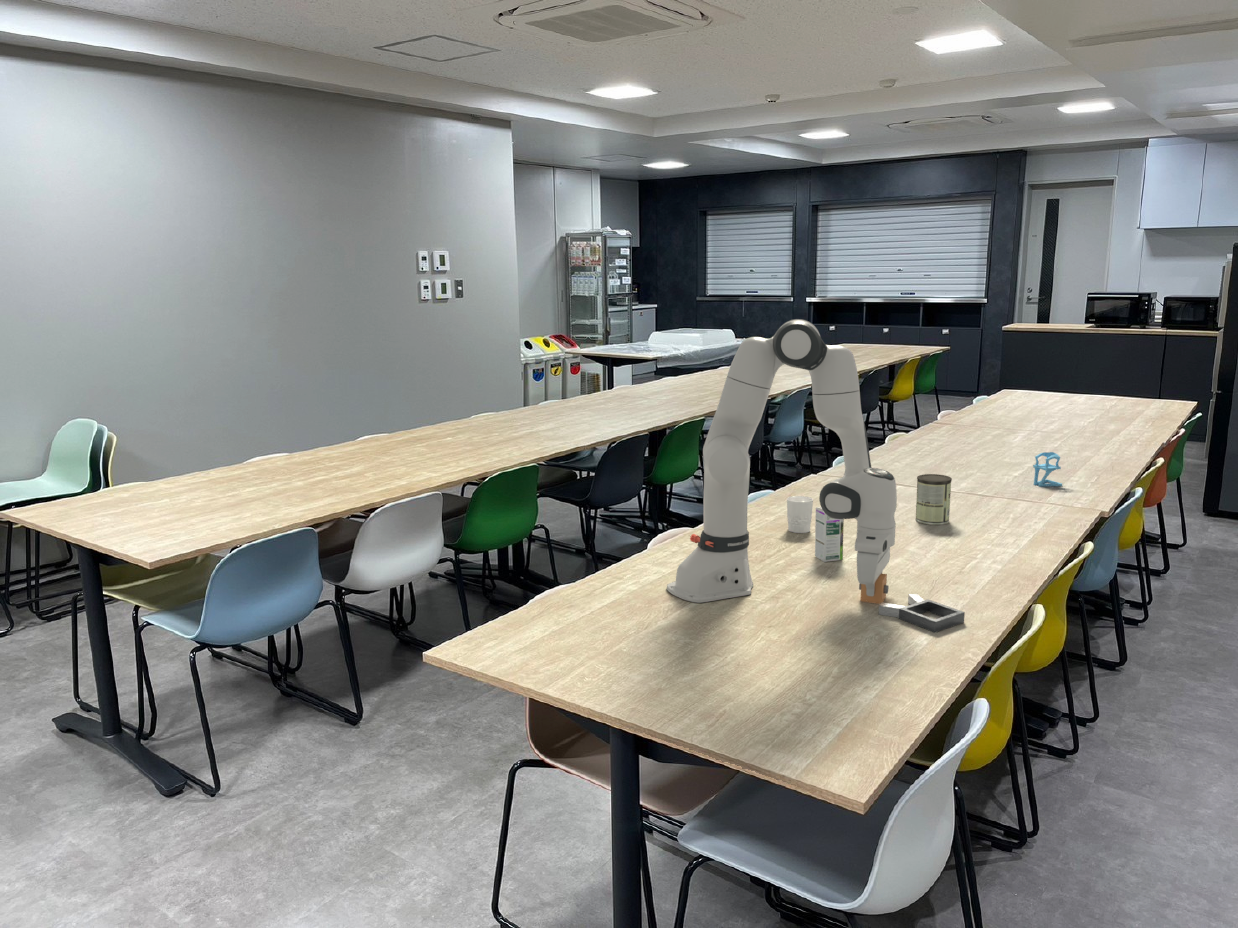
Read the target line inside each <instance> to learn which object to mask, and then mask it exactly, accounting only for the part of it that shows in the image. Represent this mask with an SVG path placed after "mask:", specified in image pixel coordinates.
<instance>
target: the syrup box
mask: <svg viewBox="0 0 1238 928" xmlns="http://www.w3.org/2000/svg"><path fill="white" fill-rule="evenodd" d="M844 520H845V519H834V518H831V517H829V516H828V515H827V514H825V512H824V511H823V510H822V508H821V506H819V507H818V506H816V507H815V526H814V527H815V529H814V530H815V534H814V535H815V536H814V539H815V540H814V544H815V545H814V556H815V558H817V559H819V560H821V561H822V562H823V563H827V562H835V561H843V560H844V557H843V556H844Z"/></svg>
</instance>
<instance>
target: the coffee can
mask: <svg viewBox="0 0 1238 928" xmlns="http://www.w3.org/2000/svg"><path fill="white" fill-rule="evenodd" d="M916 479H917V480H916V483H917V484H916V503H915V504H916V505H915V521H916V522H917V523H919V524H923V525H931V526H940V525H947V524H949V523H950V508H951V507H950V506H951V495H952V493H951V492H952V490H951V489H952V480H953V478H952V477H951V476H948V475H946V474H937V473H936V474H935V473H925V474H920V475H918V476H916Z"/></svg>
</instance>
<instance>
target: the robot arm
mask: <svg viewBox="0 0 1238 928" xmlns="http://www.w3.org/2000/svg"><path fill="white" fill-rule="evenodd" d="M784 365H786V366H787V367H791V368H796V369H800V370H801V369H802V370H805V371H807V372H808V373H809V375H810V379H811V391H812V392H811V393H812V405H813V410H814V411H813V412H814V414H815V418H816V419H817V422H819V423H820V424H821V425H823V426H824V427H825V428H827V429H829V430H831V431H833V432H834V433H836V435H837V436H838V437H839V439H840V442H841V448H842V456H843V463H844V469H845V470H844V473H843V476H842V477H839V478H836V479H834V480H832V481H830V482H828V483H826V484H825V485H824V486H823V487H822V488H821V489H820V491H819V499H818V500H819V504H820V507H821V508H822V510H823V511H824V512H825V514H827V515H828V516H829V517H831V518H834V519H844V520H851V519H852V520H853V519H855V520H856V522H857V525H856V537H855V538H856V539H855V542H854V551H855V552H857V553H856V575H857V576H856V577H857V582H858V583H859V584H865V585H866V594H867V596H874V594H875V582H876V580H877V579H878V577H879V576H880V574H881V573H882V574H883V573H884V572H883V571H884V570H885V569H886V567H887V566H888V564H889V563H890V557H891V548H892V547H893V546H895V544H896V519H895V513H896V510H897V506H898V505H897V504H898V503H897V501H898V500H897V499H898V496H897V494H898V493H897V483H896V479H895V476H894V474H892V473H890V472H889V471H887V470H886V469H883V468H878V467H872V463H871V456H870V450H869V443H868V435H867V429H866V424H865V420H864V416H863V412H862V404H861V403H862V402H861V392H860V381H859V374H858V369H857V364H856V360H855V356H854V354H853V352H852V351H851V349H850V348H848V347H846V346H844V345H840V344H839V345H838V344H832V345H830V344H826V343H825V342H824V340H823V339H822V337H821V334H820V332H819V330H818V328H817V327H816V326H815V325H814V324H813V323H812V322H810V321H808V320H806V319H801V318H800V319H799V318H795V319H790V320H788V321H786V322H784V323H783V324H782V325H781V326H780V327H779V328H777V330H776V332H775V333H774V334H773V335H772V336H771V337H770V338H769V337H768V338H765V337H761V336H751V337H747V338H745V339H743V341H742V342H741V343H740V345H739V346H738V349H737V350H736V352H735V354H734V357H733V360H732V361H731V363H730V366H729V370H728V372H727V374H726V379H725V382H724V385H723V388H722V391H721V395H720V398H719V401H718V405H717V409H716V410H715V413H714V415H713V418H712V422H711V423H710V424H711V425H710V426H709V430H708V432H707V435H706V438H705V441H704V444H703V448H702V456H703V466H704V467H703V472H704V473H703V527H702V528H703V529H702V531H701V534H700V536H699V535H697V534H695V533H693V534H691V535H690V538H689V540H690V542H691V543H695V544H697V547H696V548H695V549H694V550H693V551H691V553H690V554H689V555H688V556H687V557H686V558H685V559H684V560H683V561H682V562H681V563H679V565H678V566H677V570H676V576H675V581H672V582H670V583H667V584H666V590H667V591H668V593H670V594H671V595H673V596H675V597H677V598H680V599H682V600H685V601H687V602H691V603H698V604H699V603H707V602H708V603H709V602H713V601H719V600H724V599H729V598H730V599H732V598H736V597H737V598H738V597H743V596H748V595H751V594H752V588H753V586H754V582H753V579H752V575H751V569H750V562H749V552H748V547H749V545H750V532H749V531H748V505H749V504H748V503H749V488H750V471H751V470H750V468H751V457H750V454H749V449H750V445H751V443H752V440H753V438H754V435H755V434H756V431H757V428H758V426H759V424H760V422H761V420H762V417H763V413H764V411H765V407H766V404H767V402H768V398H769V395H770V392H771V388H772V385H773V382H774V379H775V377H776V374H777V372H778V370H779V369H780V368H781V367H782V366H784Z"/></svg>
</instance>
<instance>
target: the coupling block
mask: <svg viewBox="0 0 1238 928" xmlns="http://www.w3.org/2000/svg"><path fill="white" fill-rule="evenodd" d="M887 578H888V575H887V573H883V572H882V573H881V574H880V576H879V577H878V579H877V580H876V582H875V594H874V596H867V594H866V585H865V584H860V583H859V586H858V589H859V591H860V602H862V603H863V602H864V603H870V604H871V603H872V604H878V605H880V603H884V601H885V599H886V598H887V594H888V593H889V585H888V583H887V582H888V581H887Z"/></svg>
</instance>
